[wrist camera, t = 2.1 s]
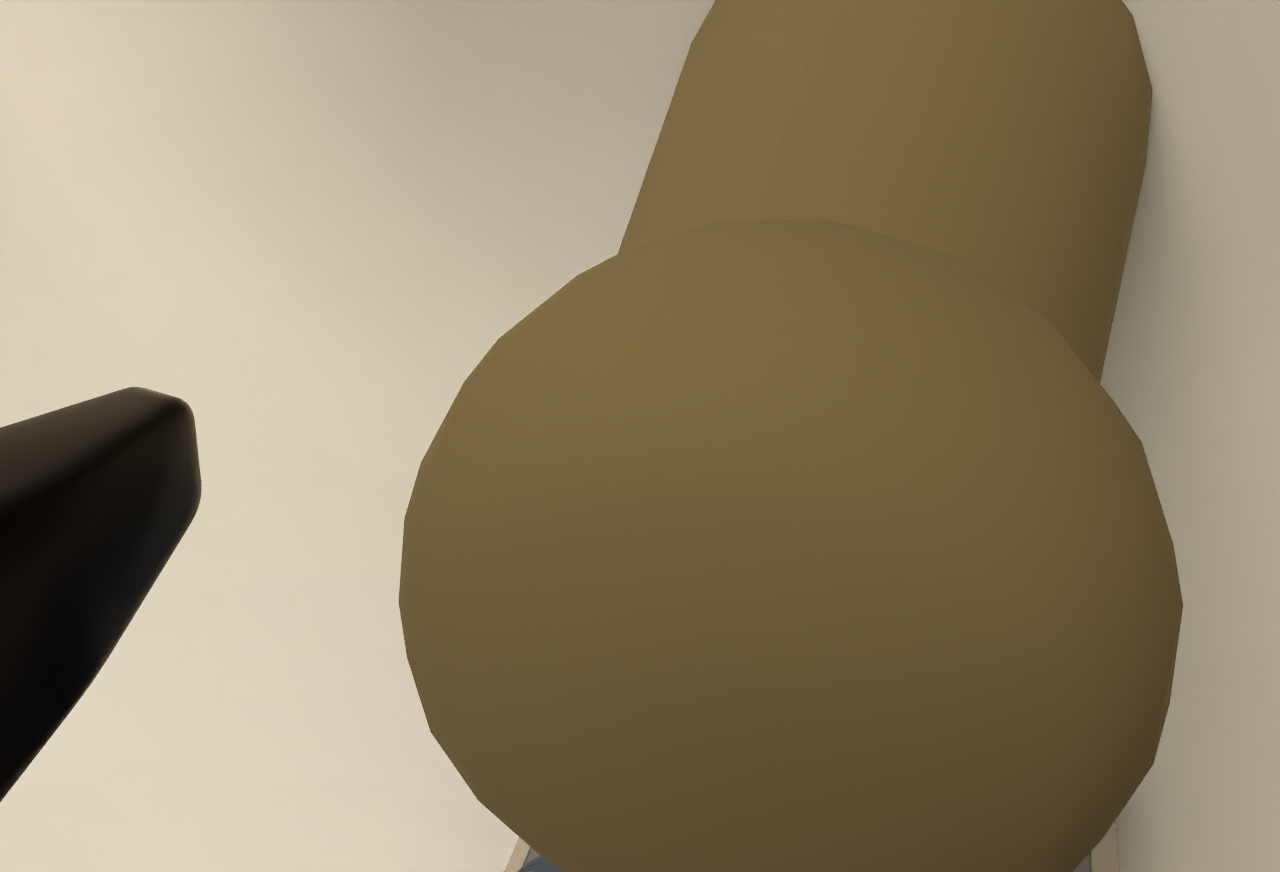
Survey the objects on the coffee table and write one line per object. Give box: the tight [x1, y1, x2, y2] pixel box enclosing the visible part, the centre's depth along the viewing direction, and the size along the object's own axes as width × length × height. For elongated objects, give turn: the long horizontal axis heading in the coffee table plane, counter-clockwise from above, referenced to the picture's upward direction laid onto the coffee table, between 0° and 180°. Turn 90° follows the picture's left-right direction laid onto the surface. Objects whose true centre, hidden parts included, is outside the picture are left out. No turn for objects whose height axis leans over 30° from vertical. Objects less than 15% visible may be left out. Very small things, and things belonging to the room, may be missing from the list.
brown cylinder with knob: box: [399, 0, 1183, 872], centre depth 11 cm, size 6×6×11 cm
